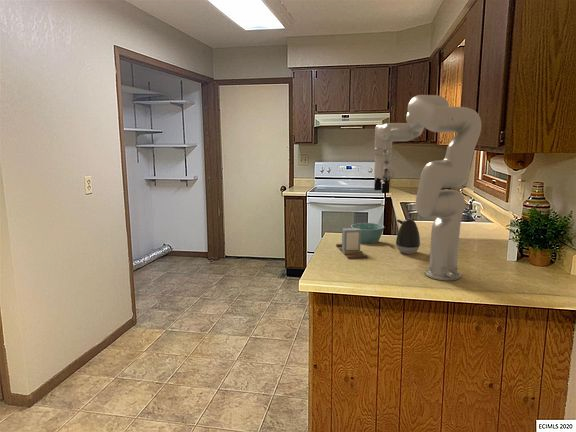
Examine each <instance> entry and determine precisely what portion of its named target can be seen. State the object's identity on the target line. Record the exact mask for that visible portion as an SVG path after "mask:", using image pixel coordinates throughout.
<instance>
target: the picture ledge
mask: <svg viewBox="0 0 576 432" xmlns="http://www.w3.org/2000/svg"><path fill="white" fill-rule="evenodd" d="M335 247H336V248H337V249H338V250H339V251H340V252H341V254H342V255H344V256H345V257H346V258H347V259H348V260H352V259H353V260H357V259H367V258H368V255H367V254H363V250H360V251H346V252H342V243H336V244H335Z"/></svg>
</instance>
